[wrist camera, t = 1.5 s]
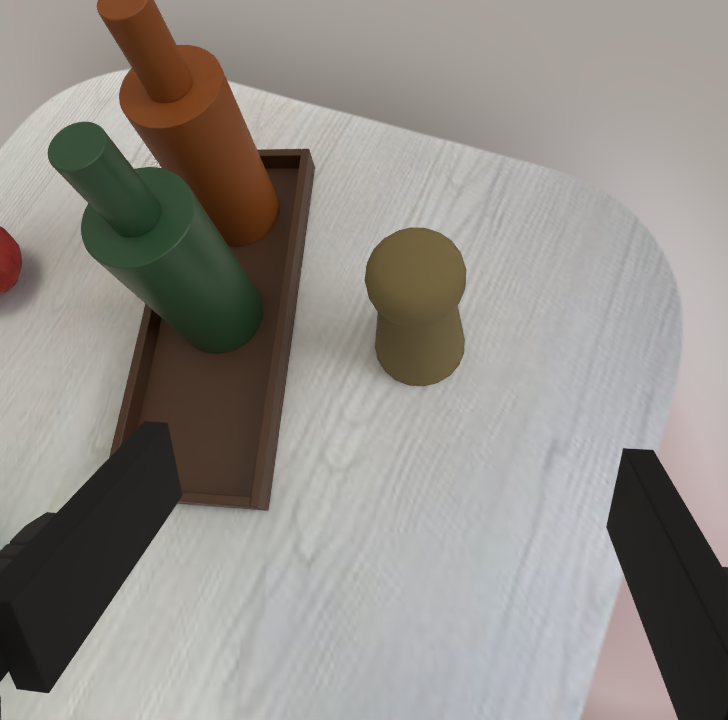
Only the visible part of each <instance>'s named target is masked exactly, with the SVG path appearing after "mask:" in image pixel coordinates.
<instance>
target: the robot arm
mask: <svg viewBox="0 0 728 720" xmlns="http://www.w3.org/2000/svg"><path fill="white" fill-rule="evenodd" d="M182 496H183V494H182V489H181V484H180V479H179V474H178V470H177V465H176V460H175V455H174V450H173V445H172V440H171V435H170V431H169V426H168V423H166V422H149V421H144V422H143V423H142V424H141V425H140V426H139V427H138V428H137V429H136V430H135V432H134V433H133V434H132V435H131V436H130V437H129V438H128V439H127V440H126V441H125V442H124V443H123V444H122V445H121V446H120V447H119V448H118V449H117V450H116V451H115V452H114V454H113V455H112V456H111V457H110V458H109V459H108V460H107V461H106V462H105V463H104V464H103V465H102V466H101V467H100V468H99V469H98V470H97V471H96V472H95V473H94V474H93V476H92V477H91V478H90V479H89V480H88V481H87V482H86V483H85V484H84V485H83V486H82V487H81V488H80V489H79V490H78V491H77V492H76V493H75V494H74V495H73V496H72V498H71V499H70V500H69V501H68V502H67V503H66V504H65V505H64V506H63V507H62V508H61V509H60V510H59V511H58V512H57V513H49V512H47V513H45V514H43V515H42V516H40V517H39V518H37V519H35V520H34V521H32V522H31V523H29V524H27V525H26V526H25V527H24V528H23V529H22V530H21V531H20V532H19V533H18V534H17V535H16V536H15V537H14V538H13V539H12V540H11V541H10V544H7V545H6V546H5V547H4V548H3V549H2V550H1V551H0V682H1V680H2V679H3V678H4V677H5V675H6V674H7V673H8V671H9V673H10V675H11V677H12V680H13V682H14V684H15V686H16V688H17V689H20V690H28V691H35V692H43V693H49V692H50V691H51V689H52V688H53V686H54V685H55V683H56V682H57V680H58V679H59V677H60V676H61V674H62V673H63V672H64V670H65V669H66V667H67V666H68V664H69V663H70V661H71V660H72V658H73V657H74V655H75V654H76V652H77V651H78V649H79V648H80V646H81V645H82V643H83V642H84V640H85V639H86V638H87V636H88V635H89V633H90V632H91V630H92V629H93V627H94V626H95V624H96V623H97V621H98V620H99V618H100V617H101V615H102V614H103V612H104V611H105V609H106V608H107V606H108V605H109V604H110V602H111V601H112V599H113V598H114V596H115V595H116V593H117V592H118V590H119V589H120V587H121V586H122V584H123V583H124V581H125V580H126V578H127V577H128V575H129V574H130V572H131V571H132V570H133V568H134V567H135V565H136V564H137V562H138V561H139V559H140V558H141V556H142V555H143V553H144V552H145V550H146V549H147V547H148V546H149V544H150V543H151V541H152V540H153V538H154V537H155V535H156V534H157V533H158V531H159V530H160V528H161V527H162V525H163V524H164V522H165V521H166V519H167V518H168V516H169V515H170V513H171V512H172V510H173V509H174V507H175V506H176V504H177V503H178V501H179V500H180V499H181V497H182ZM606 528H607V530H608V533H609V536H610V538H611V541H612V544H613V546H614V549H615V552H616V554H617V557H618V560H619V562H620V565H621V568H622V570H623V573H624V576H625V578H626V581H627V583H628V586H629V589H630V592H631V594H632V597H633V600H634V602H635V605H636V608H637V610H638V613H639V616H640V619H641V621H642V624H643V627H644V629H645V632H646V634H647V637H648V640H649V643H650V645H651V648H652V651H653V653H654V656H655V659H656V661H657V664H658V667H659V669H660V672H661V675H662V678H663V680H664V683H665V686H666V688H667V691H668V694H669V696H670V699H671V702H672V704H673V707H674V709H675V712H676V715H677V718H678V720H728V567H722V566H721V564H720V562H719V561H718V559H717V558H716V556H715V554H714V552H713V551H712V549H711V547H710V545H709V544H708V542H707V540H706V539H705V537H704V535H703V534H702V532H701V530H700V529H699V527H698V526H697V524H696V522H695V520H694V519H693V517H692V515H691V513H690V512H689V510H688V508H687V507H686V505H685V503H684V502H683V500H682V498H681V496H680V495H679V493H678V492H677V490H676V488H675V486H674V485H673V483H672V481H671V479H670V478H669V476H668V474H667V473H666V471H665V470H664V468H663V466H662V464H661V463H660V461H659V459H658V457H657V456H656V454H655V452H654V451H653V450H643V449H626V448H623V451H622V456H621V461H620V466H619V470H618V475H617V480H616V484H615V489H614V494H613V498H612V503H611V508H610V512H609V517H608V522H607V526H606ZM0 720H1V697H0Z"/></svg>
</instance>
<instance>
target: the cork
mask: <svg viewBox="0 0 728 720" xmlns="http://www.w3.org/2000/svg"><path fill="white" fill-rule="evenodd" d="M365 283H366V288H367V292H368V296H369V299H370V301H371V302H372V304H373V305H374V307H375V308H376V310H377V311H378V316H377V329H376V342H375V349H376V353H377V358H378V361H379V362H380V364H381V366H382V367H383V369H384V370H385V372H387V373H388V374H389V375H390V376H392V377H393V378H394V379H395V380H397V381H400V382H402V383H405V384H408V385H415V386H426V385H430V384H434V383H438V382H440V381H441V380H443V379H445V378H446V377H448V376H450V375H451V373H452V372H453V371H454V370H455V369H456V368H457V367H458V365H459V363H460V361H461V359H462V356H463V354H464V342H465V339H464V334H463V329H462V324H461V320H460V315H459V310H458V304H459V302H460V300H461V297H462V295H463V293H464V290H465V285H466V267H465V264H464V261H463V258H462V255H461V253H460V251H459V250H458V248H457V247H456V246H455V245H454V243H453V242H452V241H451V240H450V239H448V238H447V237H445V236H444V235H442V234H441V233H439V232H436V231H433V230H430V229H426V228H407V229H403V230H399V231H397V232H395V233H393V234H391V235H390V236H388V237H386V238H384V239H383V240H382V241H381V242H380V243H379V244H378V245H377V246H376V247H375V248H374V250H373V252H372V254H371V256H370V258H369V260H368V262H367V266H366V274H365Z"/></svg>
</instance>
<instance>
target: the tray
mask: <svg viewBox="0 0 728 720" xmlns="http://www.w3.org/2000/svg"><path fill="white" fill-rule="evenodd" d="M257 151H258V153H259V156H260V158H261V160H262V162H263V165H264V167H265V169H266V172H267V174H268V176H269V179H270V181H271V183H272V186H273V188H274V190H275V193H276V195H277V197H278V200H279V207H280V208H279V215H278V218H277V221H276V223H275V225H274V226H273V228H272V229H271V230H270V231H269V232H268V233H267V234H266V235H265V236H264V237H262V238H261V239H260V240H258V241H256V242H254V243H251V244H248V245H244V246H229V248H230V249H231V251H232V252H233V254H234V255H235V257H236V258H237V260H238V261H239V263H240V264H241V266H242V267H243V269H244V270H245V272H246V273H247V275H248V276H249V278H250V280H251V281H252V283H253V284H254V286H255V287H256V289H257V290H258V292H259V294H260V295H261V298H262V302H263V317H262V321H261V323H260V326H259V328H258V330H257V331H256V333H255V334H254V335H253V337H252V338H251V339H250V340H249V341H248V342H246V343H245V344H244V345H242V346H241V347H239V348H237V349H235V350H232V351H229V352H225V353H208V352H204V351H202V350H199V349H198V348H196V347H195V346H193V345H192V344H191V343H190V342H189V341H187V340H186V339H185V338H184V337H183V336H182V335H181V334H180V333H178V332H177V331H176V330H175V329H174V328H173V327H172V326H170V325H169V324H168V323H167V322H166V321H165V320H164V319H162V318H161V317H160V316H159V315H158V314H157V313H156V312H155V311H153V310H152V309H151V308H150V307H149V306H148V305H147V304H145V308H144V313H143V317H142V321H141V325H140V330H139V334H138V338H137V342H136V347H135V351H134V355H133V359H132V363H131V368H130V372H129V376H128V380H127V385H126V389H125V393H124V397H123V402H122V406H121V410H120V414H119V419H118V423H117V427H116V431H115V435H114V440H113V444H112V448H111V452H110V457H111V456H112V455H113V454H114V452H115V451H116V450H117V449H118V448H119V447H120V446H121V445H122V444H123V443H124V442H125V441H126V440H127V439H128V438H129V437H130V436H131V435H132V434H133V433H134V432H135V430H136V429H137V428H138V427H139V426H140V425H141V424H142V423H143V422H144V421H149V422H166V423H168V426H169V431H170V435H171V440H172V445H173V450H174V455H175V460H176V465H177V470H178V474H179V479H180V484H181V489H182V494H183V496H182V497H181V499H180V500H179V501H178V503H179V504H192V505H205V506H218V507H231V508H243V509H256V510H268V509H269V502H270V494H271V487H272V480H273V472H274V465H275V457H276V450H277V443H278V435H279V428H280V420H281V413H282V406H283V398H284V391H285V384H286V376H287V369H288V361H289V354H290V347H291V339H292V332H293V324H294V317H295V310H296V302H297V295H298V287H299V280H300V273H301V265H302V258H303V251H304V243H305V236H306V228H307V221H308V214H309V206H310V199H311V191H312V184H313V177H314V169H315V166H314V163H313V160H312V157H311V154H310V150H309V149H302V150H301V149H276V150H257ZM110 457H109V458H110Z"/></svg>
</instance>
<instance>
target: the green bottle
mask: <svg viewBox="0 0 728 720" xmlns="http://www.w3.org/2000/svg"><path fill="white" fill-rule="evenodd" d="M48 159H49V161H50V163H51V165H52V166H53V167H54V168H55V169H56V170H57V171H58V172H59V173H60V174H61V175H62V176H63V177H64V178H65V179H66V180H67V181H68V182H69V184H70V185H71V186H72V187H73V188H74V189H75V190H76V191H77V192H78V193H79V194H80V195H81V196H82V197H83V198H84V199H85V200H86V201H87V202H88V205H87V207H86V209H85V212H84V214H83V218H82V223H81V235H82V239H83V243H84V245H85V247H86V249H87V251H88V252H89V253H90V255H91V256H92V257H93V258H94V259H96V260H97V261H98V262H99V263H100V264H101V265H102V266H103V267H105V268H106V269H107V270H108V271H109V272H110V273H111V274H113V275H114V276H115V277H116V278H117V279H118V280H119V281H120V282H122V283H123V284H124V285H125V286H126V287H127V288H128V289H130V290H131V291H132V292H133V293H134V294H135V295H136V296H138V297H139V298H140V299H141V300H142V301H143V302H144V303H145V304H147V305H148V306H149V307H150V308H151V309H152V310H153V311H155V312H156V313H157V314H158V315H159V316H160V317H161V318H162V319H164V320H165V321H166V322H167V323H168V324H169V325H170V326H172V327H173V328H174V329H175V330H176V331H177V332H178V333H180V334H181V335H182V336H183V337H184V338H185V339H186V340H187V341H189V342H190V343H191V344H192V345H193V346H195V347H196V348H198V349H199V350H202V351H204V352H208V353H225V352H229V351H232V350H235V349H237V348H239V347H241V346H242V345H244V344H245V343H246V342H248V341H249V340H250V339H251V338H252V337H253V335H254V334H255V333H256V331H257V330H258V328H259V326H260V323H261V321H262V317H263V302H262V298H261V295H260V294H259V292H258V290H257V289H256V287H255V286H254V284H253V283H252V281H251V280H250V278H249V276H248V275H247V273H246V272H245V270H244V269H243V267H242V266H241V264H240V263H239V261H238V260H237V258H236V257H235V255H234V254H233V252H232V251H231V249H230V248H229V246H228V245H227V243H226V242H225V240H224V238H223V237H222V235H221V234H220V232H219V231H218V229H217V228H216V226H215V225H214V223H213V222H212V220H211V219H210V217H209V216H208V214H207V213H206V211H205V210H204V208H203V207H202V205H201V204H200V202H199V201H198V199H197V197H196V196H195V194H194V193H193V191H192V190H191V188H190V187H189V185H188V184H187V183H186V182H185V180H183V179H182V178H181V177H180V176H179V175H177V174H175V173H173V172H171V171H169V170H166V169H163V168H157V167H144V168H138V169H133V167H132V166H131V165H130V163H129V162H128V161H127V160H126V158H125V157H124V156H123V154H122V153H121V152H120V150H119V149H118V148H117V147H116V145H115V144H114V143H113V141H112V140H111V139H110V138H109V136H108V135H107V134H106V132H105V131H104V130H103V129H102V128H101V127H100V126H99V125H97V124H95V123H92V122H78V123H74V124H71V125H69V126H67V127H65V128H64V129H62V130H61V131H60V132H58V133H57V134H56V136H55V137H54V138H53V139H52V141H51V143H50V145H49V148H48Z"/></svg>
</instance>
